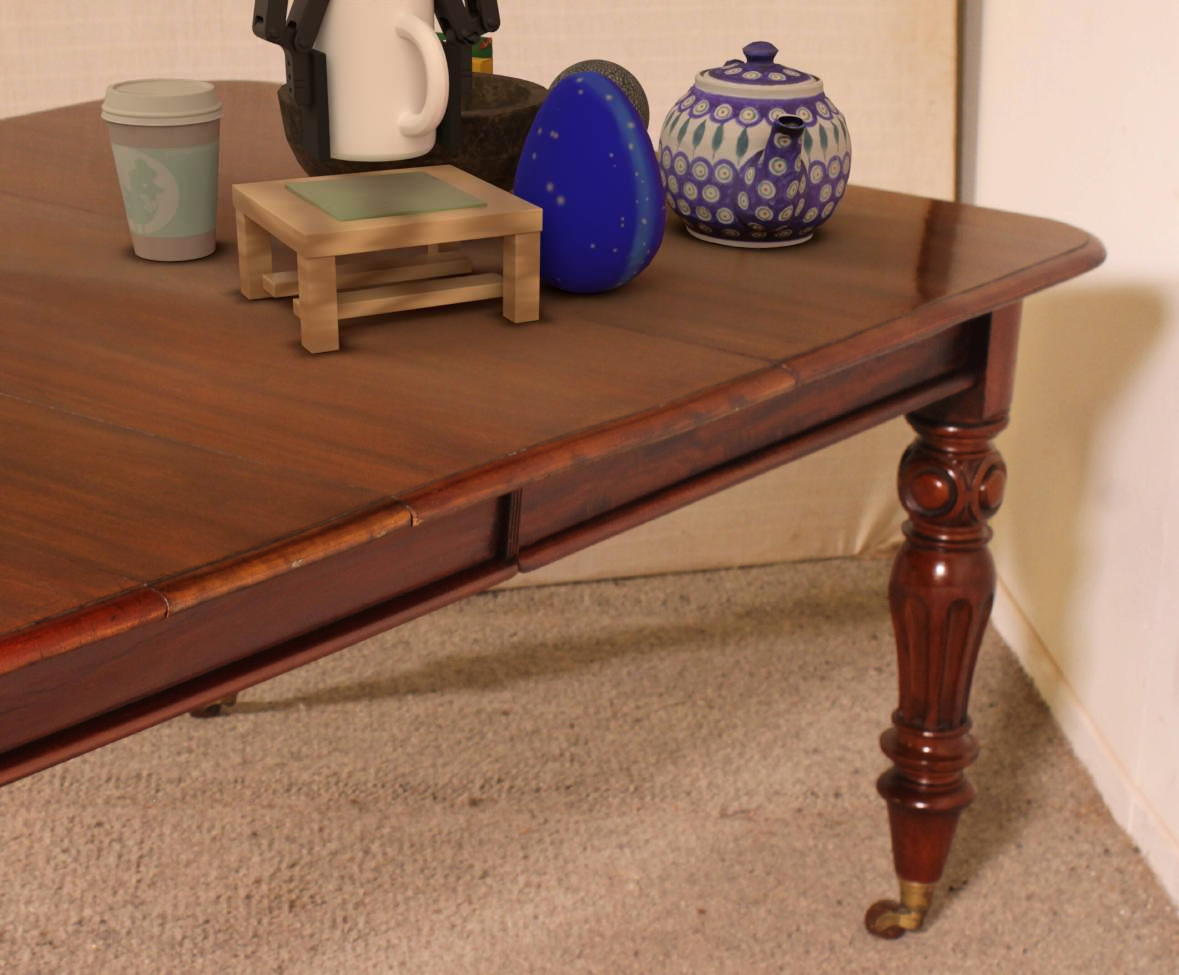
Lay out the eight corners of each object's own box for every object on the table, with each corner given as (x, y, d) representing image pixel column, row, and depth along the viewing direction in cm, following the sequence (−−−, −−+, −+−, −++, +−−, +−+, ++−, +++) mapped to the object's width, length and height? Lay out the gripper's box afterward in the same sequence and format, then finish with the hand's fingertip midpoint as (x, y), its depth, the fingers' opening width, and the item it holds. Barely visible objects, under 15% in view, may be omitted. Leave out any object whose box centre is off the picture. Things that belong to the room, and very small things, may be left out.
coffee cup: (98, 246, 112) (79, 82, 107) (205, 230, 117) (192, 73, 112) (142, 273, 106) (125, 101, 101) (253, 256, 110) (242, 91, 105)
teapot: (640, 193, 132) (648, 17, 126) (812, 196, 133) (828, 21, 126) (670, 275, 109) (681, 64, 103) (877, 278, 110) (900, 69, 104)
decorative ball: (652, 161, 144) (657, 55, 140) (640, 184, 135) (645, 71, 131) (551, 155, 146) (553, 49, 141) (531, 177, 137) (533, 65, 132)
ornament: (683, 297, 104) (695, 77, 98) (581, 320, 99) (587, 89, 93) (584, 260, 112) (589, 55, 106) (484, 280, 106) (483, 65, 100)
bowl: (237, 234, 116) (228, 103, 112) (344, 175, 135) (340, 61, 131) (507, 260, 111) (507, 125, 107) (577, 195, 131) (580, 78, 126)
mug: (497, 163, 95) (496, -7, 90) (388, 180, 90) (382, 1, 85) (390, 131, 103) (385, -26, 99) (285, 145, 98) (275, -20, 94)
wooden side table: (310, 354, 91) (304, 231, 88) (238, 293, 102) (230, 181, 99) (541, 320, 99) (543, 205, 95) (451, 266, 110) (450, 161, 106)
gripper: (212, -249, 79) (242, 178, 88) (561, -234, 89) (555, 149, 98) (173, -247, 85) (205, 153, 94) (504, -233, 94) (503, 128, 104)
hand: (383, 151), depth 96 cm, fingers closed on mug, 8 cm apart
